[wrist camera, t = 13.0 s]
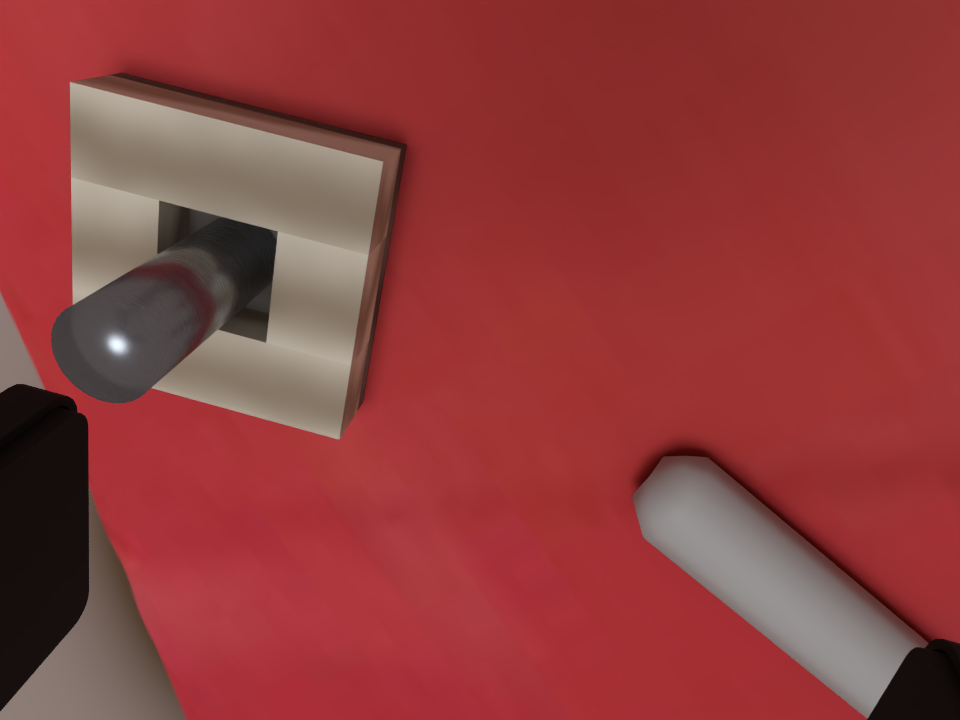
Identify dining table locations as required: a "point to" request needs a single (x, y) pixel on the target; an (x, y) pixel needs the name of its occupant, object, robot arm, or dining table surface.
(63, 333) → the steel peg
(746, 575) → the tube
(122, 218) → the socket block
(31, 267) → the dining table surface
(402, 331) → the dining table surface
